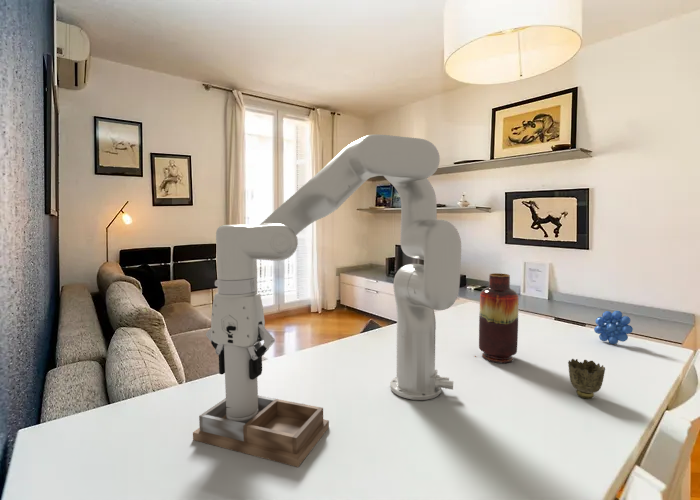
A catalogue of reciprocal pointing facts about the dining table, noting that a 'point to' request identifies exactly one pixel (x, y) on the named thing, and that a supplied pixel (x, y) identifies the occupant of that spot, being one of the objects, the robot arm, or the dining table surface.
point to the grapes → (613, 327)
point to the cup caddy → (266, 430)
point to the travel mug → (239, 383)
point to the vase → (498, 320)
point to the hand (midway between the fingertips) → (240, 373)
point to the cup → (586, 377)
